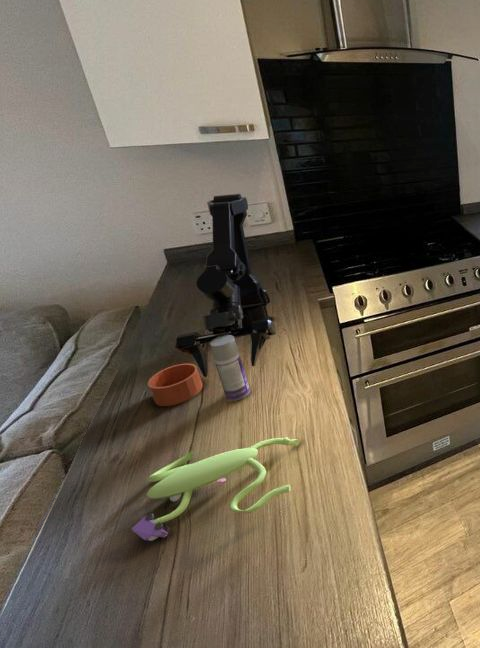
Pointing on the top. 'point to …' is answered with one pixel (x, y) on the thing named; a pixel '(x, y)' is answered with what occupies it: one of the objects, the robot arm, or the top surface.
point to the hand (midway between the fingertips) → (229, 371)
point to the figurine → (205, 483)
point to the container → (230, 367)
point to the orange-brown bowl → (175, 384)
